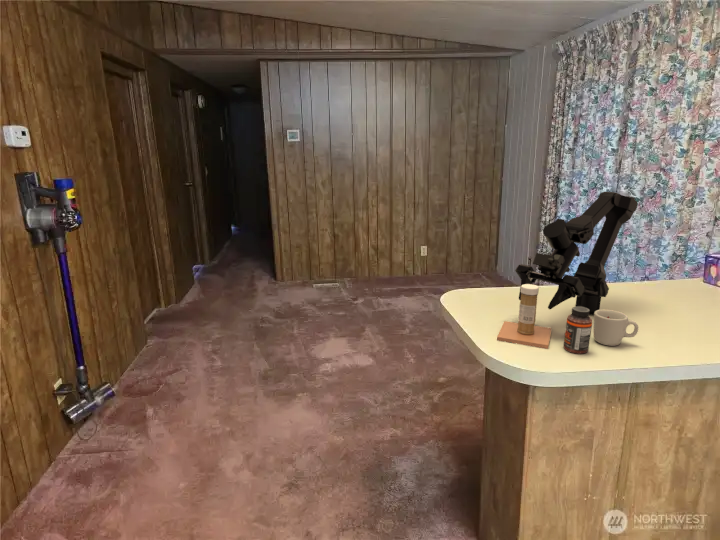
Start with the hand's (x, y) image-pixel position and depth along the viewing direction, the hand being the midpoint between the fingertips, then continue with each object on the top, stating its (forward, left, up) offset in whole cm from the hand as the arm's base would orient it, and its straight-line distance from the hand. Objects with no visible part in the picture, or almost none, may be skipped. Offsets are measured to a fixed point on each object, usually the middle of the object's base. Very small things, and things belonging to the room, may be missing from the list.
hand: (533, 303), depth 131 cm
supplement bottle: (-12, +6, -9) cm, 16 cm away
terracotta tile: (+1, +2, -9) cm, 9 cm away
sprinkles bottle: (+1, +2, -8) cm, 8 cm away
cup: (-21, -3, -9) cm, 23 cm away
